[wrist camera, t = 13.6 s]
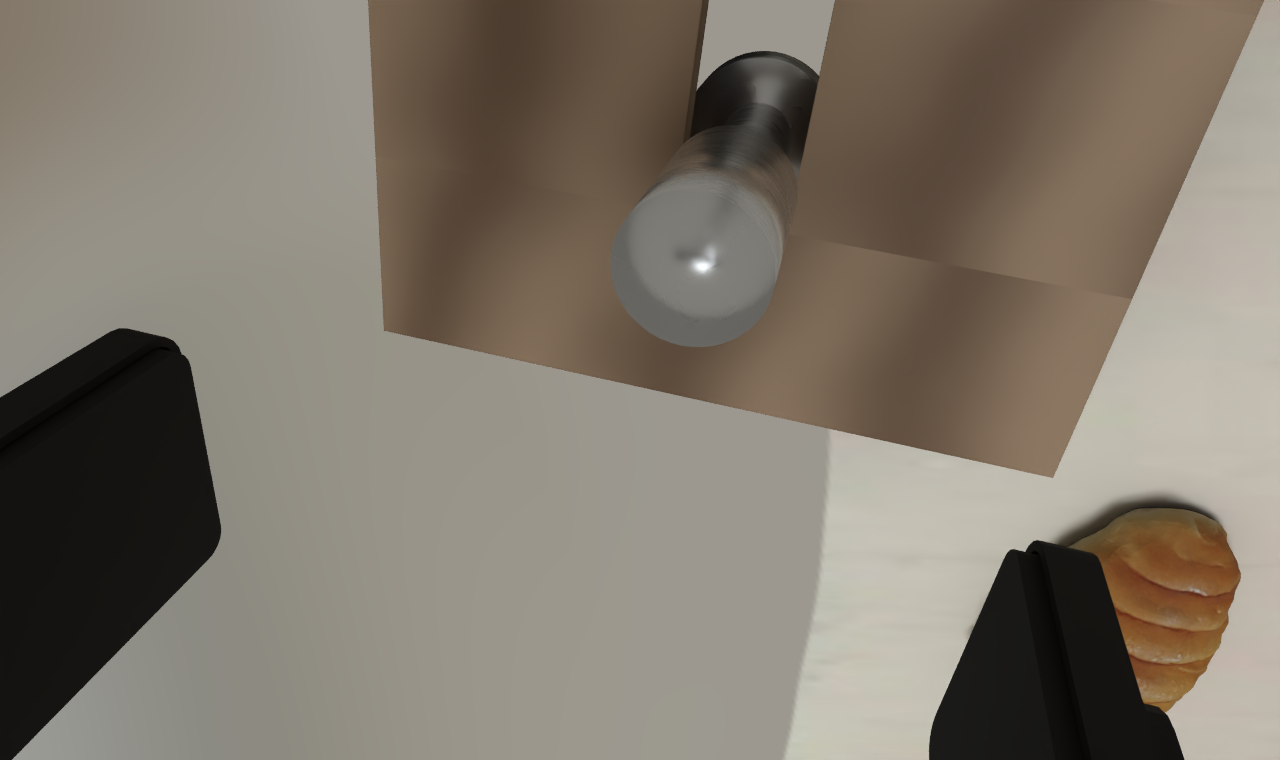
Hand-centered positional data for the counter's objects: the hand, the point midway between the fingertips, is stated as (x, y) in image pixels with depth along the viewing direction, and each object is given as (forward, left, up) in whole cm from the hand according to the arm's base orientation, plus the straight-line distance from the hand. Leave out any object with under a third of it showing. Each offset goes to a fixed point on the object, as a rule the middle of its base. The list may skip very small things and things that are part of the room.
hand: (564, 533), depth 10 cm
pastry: (-15, +15, -20) cm, 29 cm away
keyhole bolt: (0, 0, -20) cm, 20 cm away
